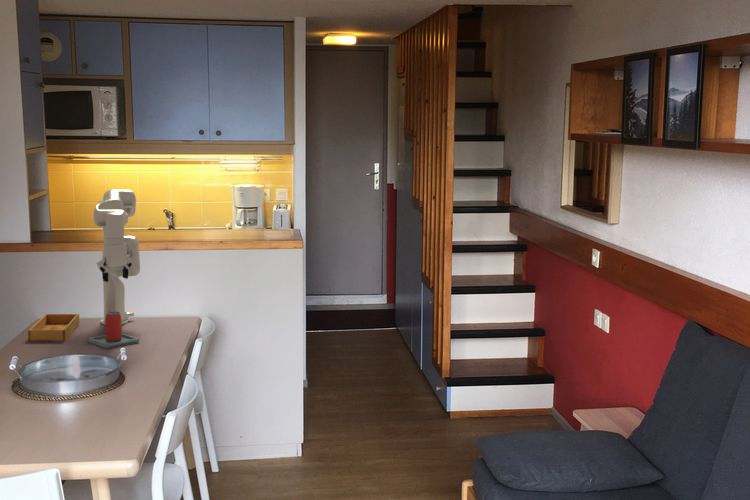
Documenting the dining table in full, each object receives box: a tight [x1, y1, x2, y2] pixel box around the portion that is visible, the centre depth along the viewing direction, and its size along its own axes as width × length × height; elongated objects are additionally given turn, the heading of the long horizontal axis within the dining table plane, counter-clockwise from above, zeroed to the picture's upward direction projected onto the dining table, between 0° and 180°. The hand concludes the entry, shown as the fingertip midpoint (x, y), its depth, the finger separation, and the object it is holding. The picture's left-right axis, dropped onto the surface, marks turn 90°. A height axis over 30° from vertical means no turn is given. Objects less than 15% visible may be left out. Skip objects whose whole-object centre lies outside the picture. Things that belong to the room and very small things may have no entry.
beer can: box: [104, 312, 123, 342], centre depth 351 cm, size 7×7×12 cm
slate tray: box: [87, 333, 140, 349], centre depth 352 cm, size 15×15×2 cm
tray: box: [27, 313, 80, 342], centre depth 366 cm, size 31×15×6 cm, turn 9°
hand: (115, 279), depth 358 cm, fingers open, 9 cm apart
